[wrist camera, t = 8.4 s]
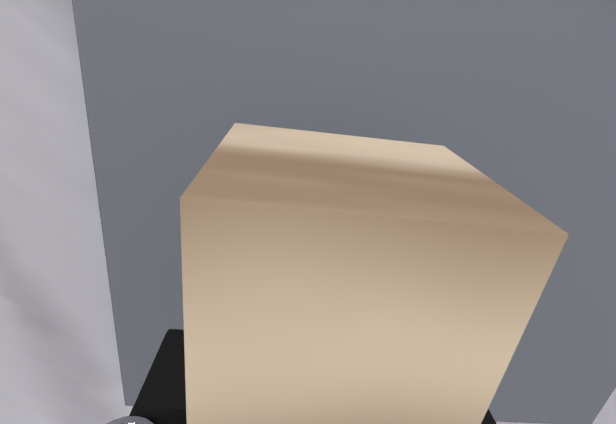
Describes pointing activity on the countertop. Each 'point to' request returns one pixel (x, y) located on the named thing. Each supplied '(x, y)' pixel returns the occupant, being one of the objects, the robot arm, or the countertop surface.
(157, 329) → the slate mat
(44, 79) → the countertop surface
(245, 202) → the beige brown block
